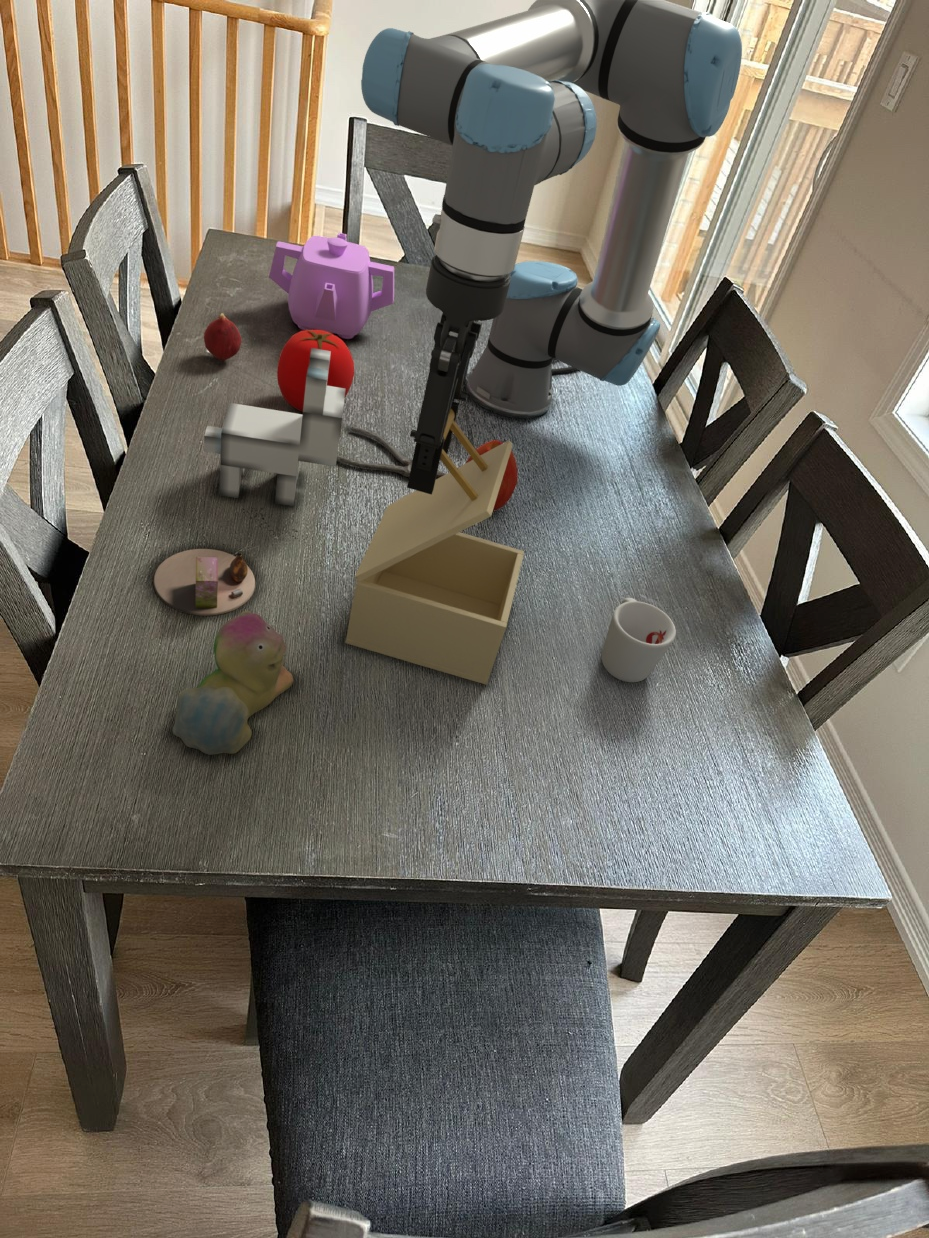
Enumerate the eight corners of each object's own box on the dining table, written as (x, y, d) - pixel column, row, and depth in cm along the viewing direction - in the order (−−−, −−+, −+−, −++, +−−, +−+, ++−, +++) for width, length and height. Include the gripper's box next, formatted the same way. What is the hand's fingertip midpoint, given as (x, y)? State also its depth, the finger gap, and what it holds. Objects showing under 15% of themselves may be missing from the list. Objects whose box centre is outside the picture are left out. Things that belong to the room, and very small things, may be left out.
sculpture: (240, 772, 90) (244, 708, 83) (163, 743, 91) (161, 678, 84) (298, 675, 101) (306, 613, 94) (229, 651, 101) (232, 586, 95)
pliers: (342, 422, 139) (465, 457, 139) (341, 426, 140) (464, 461, 140) (324, 453, 132) (453, 490, 132) (323, 458, 132) (452, 495, 132)
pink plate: (257, 615, 106) (259, 588, 103) (151, 615, 103) (150, 586, 100) (253, 550, 115) (254, 523, 112) (154, 548, 111) (153, 519, 108)
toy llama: (209, 461, 126) (212, 330, 113) (333, 480, 129) (350, 354, 116) (200, 492, 121) (202, 359, 107) (329, 511, 124) (347, 383, 110)
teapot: (321, 355, 154) (331, 271, 144) (255, 309, 161) (260, 225, 151) (399, 334, 167) (413, 255, 156) (335, 292, 174) (344, 213, 164)
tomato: (300, 433, 136) (308, 358, 128) (259, 395, 141) (264, 320, 133) (365, 416, 143) (376, 345, 135) (324, 381, 149) (332, 310, 140)
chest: (505, 607, 117) (524, 551, 110) (486, 685, 106) (506, 627, 100) (377, 569, 117) (389, 510, 110) (345, 643, 106) (355, 582, 100)
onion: (247, 360, 148) (249, 315, 143) (226, 373, 144) (227, 327, 138) (218, 347, 149) (219, 302, 144) (196, 359, 145) (196, 313, 140)
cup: (584, 626, 118) (603, 582, 112) (640, 632, 119) (662, 588, 114) (600, 687, 110) (621, 643, 105) (660, 692, 112) (684, 649, 106)
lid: (513, 445, 101) (467, 380, 97) (491, 516, 90) (438, 447, 86) (391, 510, 110) (344, 454, 106) (358, 582, 100) (305, 522, 95)
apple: (447, 488, 134) (462, 427, 127) (496, 484, 137) (513, 425, 130) (469, 522, 129) (485, 460, 122) (518, 517, 132) (537, 457, 125)
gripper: (454, 218, 89) (415, 416, 104) (407, 293, 74) (370, 511, 89) (526, 239, 89) (477, 434, 104) (494, 318, 74) (442, 532, 89)
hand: (428, 469), depth 97 cm, fingers closed on lid, 7 cm apart
